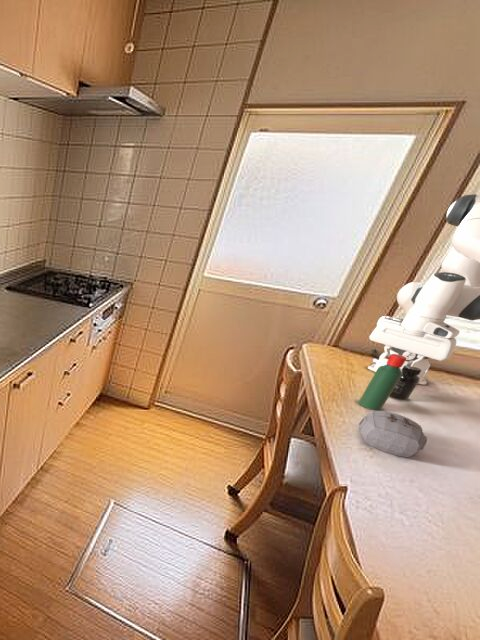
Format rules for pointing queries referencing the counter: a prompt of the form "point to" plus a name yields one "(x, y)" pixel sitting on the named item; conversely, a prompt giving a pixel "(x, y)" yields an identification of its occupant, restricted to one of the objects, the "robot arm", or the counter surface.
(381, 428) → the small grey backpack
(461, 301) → the robot arm
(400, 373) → the bottle
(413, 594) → the counter surface
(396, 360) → the cap
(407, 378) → the supplement bottle
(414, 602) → the counter surface
